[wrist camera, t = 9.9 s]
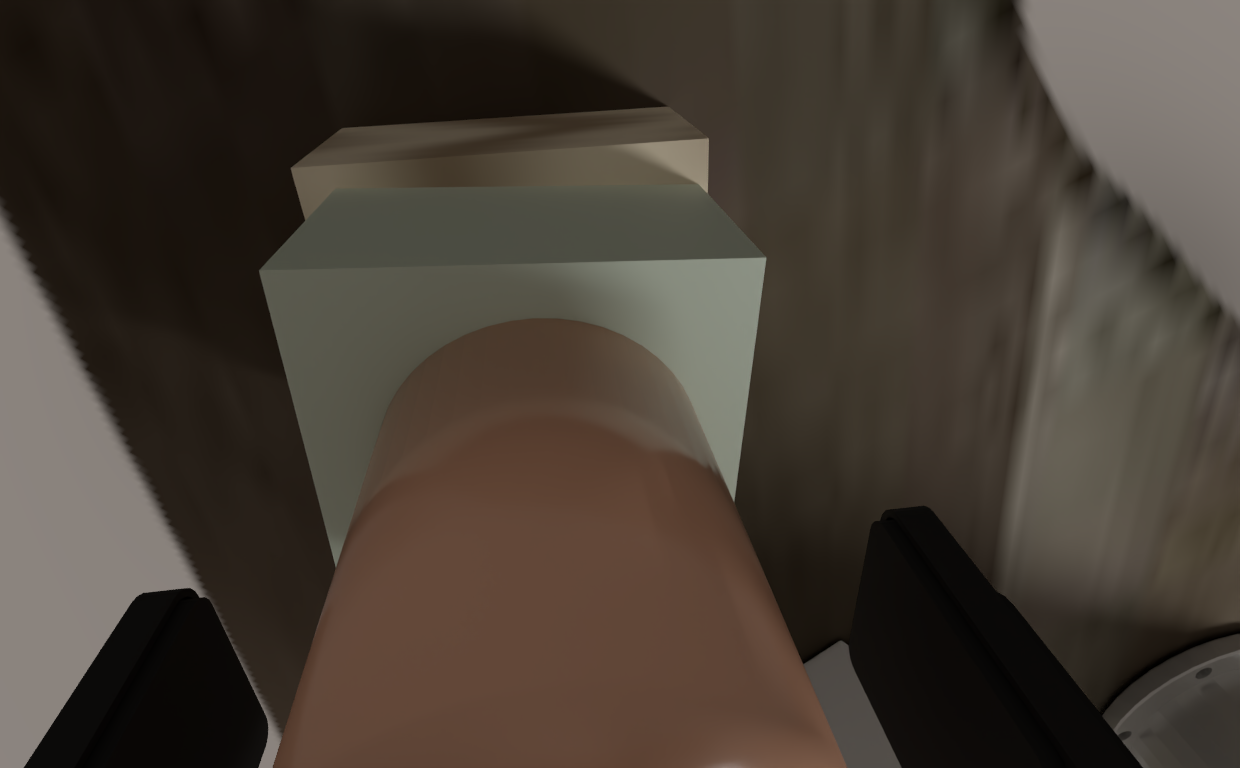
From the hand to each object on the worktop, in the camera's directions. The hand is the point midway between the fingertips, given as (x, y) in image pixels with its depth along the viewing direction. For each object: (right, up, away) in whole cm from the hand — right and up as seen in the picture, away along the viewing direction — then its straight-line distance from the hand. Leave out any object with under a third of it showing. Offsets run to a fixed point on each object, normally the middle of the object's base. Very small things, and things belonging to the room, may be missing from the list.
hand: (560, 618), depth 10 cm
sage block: (-1, +4, +7) cm, 9 cm away
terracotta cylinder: (-1, +2, +3) cm, 4 cm away
